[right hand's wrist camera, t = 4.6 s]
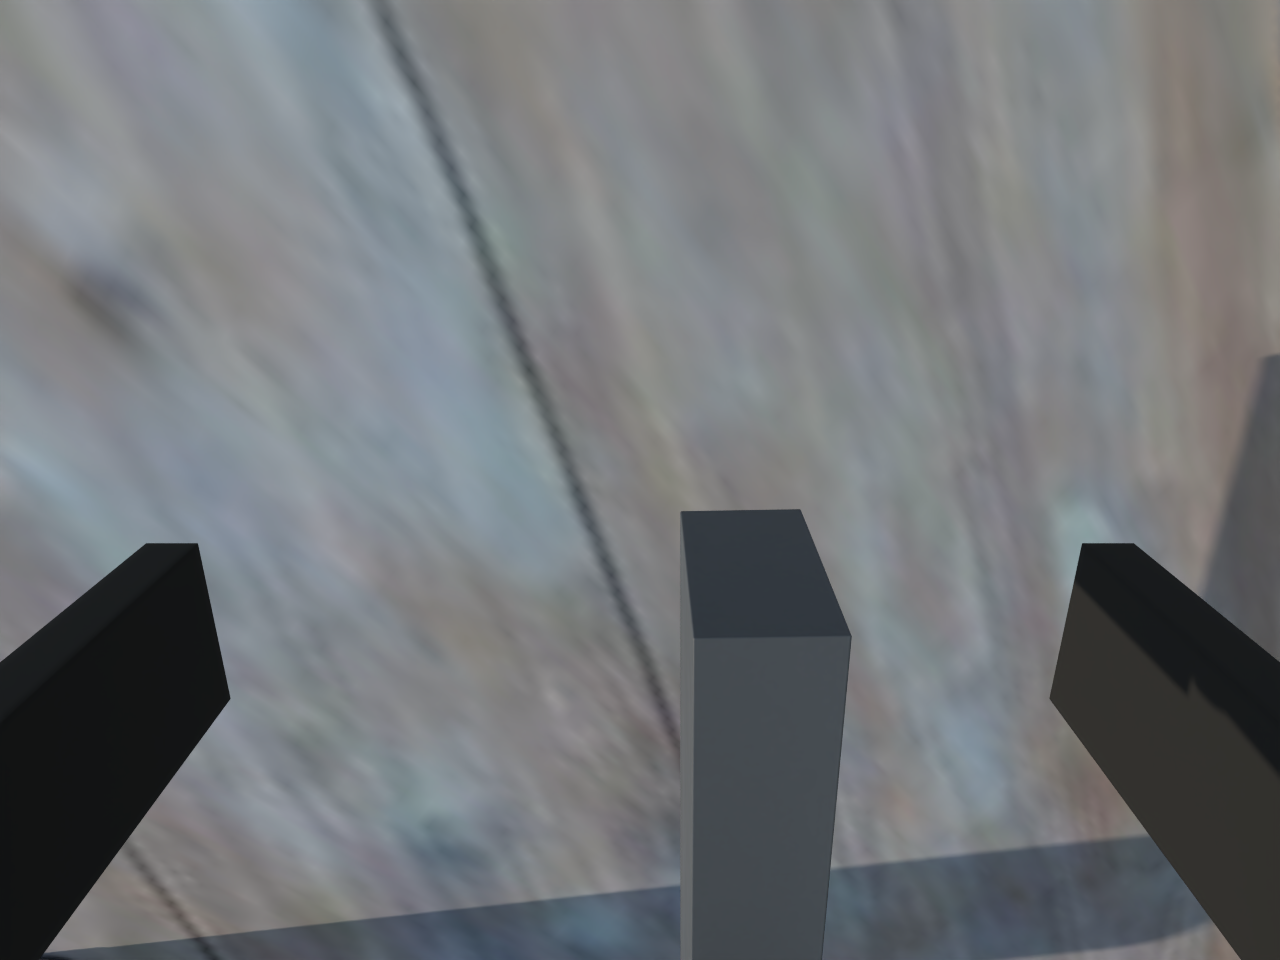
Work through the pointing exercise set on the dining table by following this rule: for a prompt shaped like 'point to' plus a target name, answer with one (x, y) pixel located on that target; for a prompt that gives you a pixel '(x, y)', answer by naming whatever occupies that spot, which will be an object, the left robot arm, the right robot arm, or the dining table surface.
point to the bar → (757, 735)
